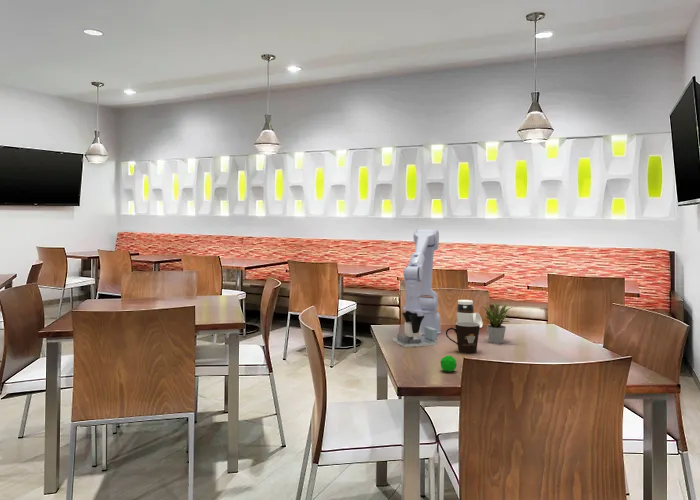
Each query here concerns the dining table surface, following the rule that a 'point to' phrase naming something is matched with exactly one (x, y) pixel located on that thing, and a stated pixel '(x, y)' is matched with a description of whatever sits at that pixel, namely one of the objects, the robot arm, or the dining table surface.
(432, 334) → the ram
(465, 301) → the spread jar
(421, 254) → the robot arm
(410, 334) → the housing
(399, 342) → the press frame
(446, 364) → the polyhedron
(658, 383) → the dining table surface
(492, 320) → the house plant
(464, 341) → the coffee mug
